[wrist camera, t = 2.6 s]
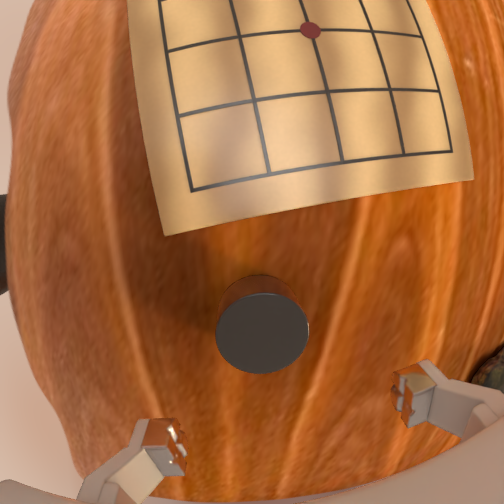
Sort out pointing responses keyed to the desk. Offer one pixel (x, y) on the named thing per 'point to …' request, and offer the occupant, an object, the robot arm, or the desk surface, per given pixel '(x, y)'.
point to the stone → (491, 373)
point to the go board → (291, 104)
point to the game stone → (260, 325)
